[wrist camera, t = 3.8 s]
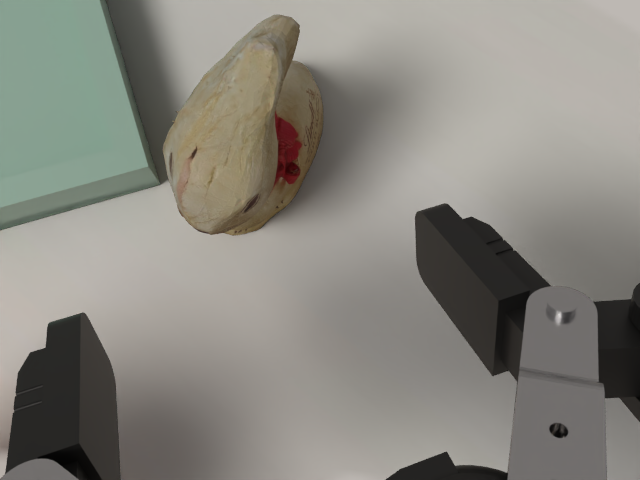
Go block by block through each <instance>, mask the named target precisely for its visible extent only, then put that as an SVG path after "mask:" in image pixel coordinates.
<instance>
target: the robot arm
mask: <svg viewBox="0 0 640 480" xmlns="http://www.w3.org/2000/svg"><path fill="white" fill-rule="evenodd" d="M415 230H416V258H417V266H418V270H419V273H420V275H421V278H422V280H423V282H424V283H425V285H426V286H427V288H428V289H429V290H430V292H431V293H432V294H433V296H434V297H435V298H436V300H437V301H438V303H439V304H440V305H441V307H442V308H443V309H444V311H445V312H446V313H447V315H448V316H449V318H450V319H451V320H452V322H453V323H454V324H455V326H456V327H457V328H458V330H459V331H460V332H461V334H462V335H463V337H464V338H465V339H466V341H467V342H468V343H469V345H470V346H471V347H472V349H473V350H474V351H475V353H476V354H477V356H478V357H479V358H480V360H481V361H482V362H483V364H484V365H485V366H486V368H487V369H488V370H489V372H490V373H491V375H492V376H495V375H497V374H500V373H503V372H506V371H510V373H511V374H512V375H513V377H514V378H515V379H516V381H517V391H516V400H515V409H514V418H513V427H512V436H511V445H510V454H509V463H508V472H507V473H505V472H503V471H500V470H496V469H492V468H488V467H482V466H474V465H459V466H455V465H454V464H453V462H452V460H451V458H450V457H449V455H448V453H447V452H444V453H442V454H439V455H436V456H434V457H431V458H428V459H426V460H423V461H420V462H418V463H415V464H413V465H410V466H407V467H405V468H402V469H400V470H399V471H397V472H396V473H394V474H393V475H391V476H390V477H389V478H387V479H386V480H607V466H606V427H605V398H618V397H619V398H620V399H621V400H622V401H623V403H624V404H625V405H626V406H627V407H628V409H629V410H630V411H631V412H632V413H633V415H634V416H635V417H636V418H637V419H638V421H639V422H640V283H639V284H638V285H637V286H636V287H635V289H634V292H633V296H632V299H630V300H614V301H599V302H593V301H592V300H591V299H590V298H589V297H587V296H586V295H585V294H583V293H581V292H579V291H577V290H575V289H571V288H568V287H562V286H550V285H549V284H548V283H547V282H546V281H545V280H544V279H543V278H542V277H541V276H540V275H539V274H538V273H537V272H536V271H535V270H534V269H533V268H532V267H531V266H530V265H529V264H528V263H527V262H526V261H525V260H524V259H523V258H522V257H521V256H520V255H519V254H518V253H517V252H516V251H513V248H512V247H511V246H510V245H509V244H508V243H507V242H506V241H505V240H504V241H503V239H502V237H501V236H500V235H499V234H498V233H497V232H496V231H495V230H494V229H493V228H492V227H491V226H490V225H488V224H486V223H484V222H482V221H479V220H477V219H475V218H473V217H469V218H465V219H462V218H461V217H460V216H459V215H458V214H457V213H456V212H455V211H454V210H453V209H452V208H451V207H450V206H449V205H448V204H441V205H438V206H435V207H431V208H428V209H425V210H421V211H418V212H417V213H416V216H415ZM0 480H121V479H120V459H119V440H118V421H117V401H116V383H115V377H114V373H113V369H112V366H111V363H110V360H109V358H108V356H107V354H106V352H105V350H104V348H103V346H102V344H101V342H100V340H99V338H98V336H97V334H96V332H95V330H94V328H93V326H92V324H91V322H90V320H89V319H88V317H87V315H86V314H85V313H80V314H77V315H73V316H70V317H67V318H63V319H60V320H56V321H53V322H50V323H49V324H48V327H47V339H46V348H43V349H40V350H37V351H34V352H30V354H29V355H28V357H27V359H26V360H25V362H24V364H23V366H22V367H21V369H20V371H19V372H18V378H17V386H16V397H15V401H14V413H13V417H12V425H11V433H10V441H9V449H8V457H7V466H6V472H5V475H4V476H3V477H2V478H1V479H0Z"/></svg>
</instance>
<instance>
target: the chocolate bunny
mask: <svg viewBox="0 0 640 480" xmlns="http://www.w3.org/2000/svg"><path fill="white" fill-rule="evenodd" d="M299 26H300V25H299V24H298V23H297V22H296V21H295V20H294V19H292V18H291V17H287V16H283V15H273V16H271V17H269V18H267V19H265V20H264V21H262V22H260V23H259V24H257V25H256V26H255V27H254V28H253V29H252V30H251V31H250V32H249V33H248V34H247V35H245V36H244V37H243V38H242V39H241V40H240V41H238V42H237V43H236V44H235V45H234V47H233V48H232V49H231V50H230V51H229V52H228V53H227V55H226V56H225V57H224V58H222V59H221V60H220V61H219V62H217V63H216V64H215V65H214V66H213V67H212V68H211V69H210V70H209V71H208V72H207V73H206V74H205V75H204V76H203V78H202V80H201V81H200V83H199V84H198V85H197V86H196V88H195V89H194V91H193V92H192V94H191V96H190V97H189V99H188V100H187V101H186V103H185V104H184V106H183V107H182V108H181V110H180V111H179V112H177V111H176V112H177V113H178V115H177V117H176V119H175V121H173V122H174V124H173V125H172V127H171V128H170V130H169V132H168V134H167V137H166V140H165V142H164V145H163V150H162V151H163V154H164V159H165V165H166V170H167V176H168V179H169V182H170V185H171V187H172V190H173V193H174V196H175V199H176V202H177V206H178V209H179V212H180V214H181V215H182V216H183V217H184V218H185V219H186V221H187V222H188V223H189V224H190V225H191V226H193V227H194V228H195V229H196V230H198V231H199V232H203V233H207V234H211V235H212V234H218V233H226V234H230V235H241V234H245V233H248V232H252V231H256V230H258V229H260V228H261V227H262V226H263V225H264V224H265V223H266V222H267V221H268V220H269V219H270V218H271V217H272V216H274V215H275V214H276V213H278V212H279V211H280V210H282V209H284V208H285V207H286V206H287V205H288V204H289V203H290V202H291V200H292V199H293V198H294V197H295V195H296V193H297V192H298V190H299V188H300V186H301V184H302V182H303V180H304V178H305V176H306V174H307V172H308V170H309V168H310V166H311V163H312V161H313V159H314V157H315V154H316V151H317V148H318V145H319V142H320V138H321V134H322V128H323V104H322V99H321V95H320V92H319V89H318V87H317V85H316V83H315V81H314V79H313V77H312V75H311V73H310V71H309V70H308V68H307V67H306V66H304V65H303V64H302V63H300V62H297V61H292V59H293V56H294V52H295V49H296V45H297V41H298V37H299V33H300V30H299Z"/></svg>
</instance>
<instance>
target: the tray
mask: <svg viewBox="0 0 640 480" xmlns="http://www.w3.org/2000/svg"><path fill="white" fill-rule="evenodd" d="M157 185H160V182H159V179H158V176H157V172H156V169H155V165H154V162H153V159H152V155H151V152H150V149H149V145H148V142H147V138H146V135H145V132H144V128H143V125H142V121H141V118H140V115H139V111H138V108H137V104H136V101H135V98H134V94H133V91H132V87H131V84H130V81H129V77H128V74H127V71H126V67H125V64H124V60H123V57H122V54H121V50H120V47H119V43H118V40H117V37H116V33H115V30H114V26H113V23H112V20H111V16H110V13H109V10H108V6H107V3H106V0H0V230H2V229H5V228H9V227H13V226H16V225H20V224H23V223H27V222H30V221H34V220H37V219H41V218H44V217H48V216H51V215H55V214H58V213H62V212H65V211H69V210H73V209H76V208H80V207H83V206H87V205H90V204H94V203H97V202H101V201H104V200H108V199H111V198H115V197H118V196H122V195H126V194H129V193H133V192H136V191H140V190H143V189H147V188H150V187H154V186H157Z"/></svg>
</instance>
